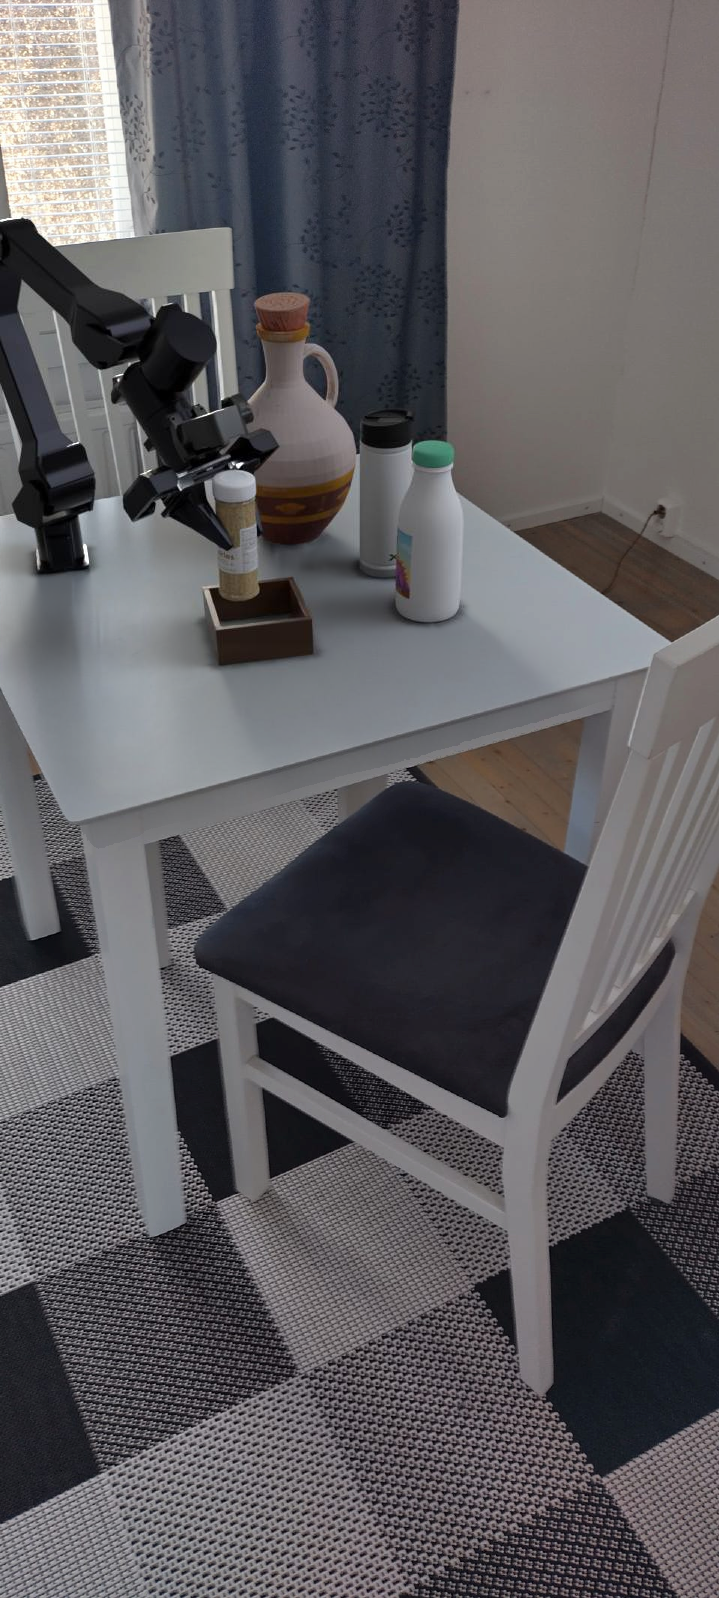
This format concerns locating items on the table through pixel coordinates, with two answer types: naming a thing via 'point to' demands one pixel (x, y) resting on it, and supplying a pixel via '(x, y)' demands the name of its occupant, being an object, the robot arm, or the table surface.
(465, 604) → the table surface
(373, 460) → the travel mug
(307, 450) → the jug
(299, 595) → the crate
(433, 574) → the milk bottle
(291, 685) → the table surface
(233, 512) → the sprinkles bottle
